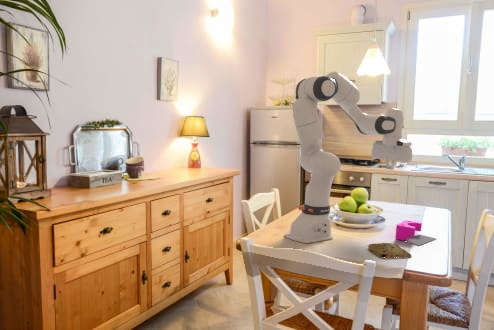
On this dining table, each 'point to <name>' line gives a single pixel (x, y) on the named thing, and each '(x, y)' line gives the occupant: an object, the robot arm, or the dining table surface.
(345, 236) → the dining table surface
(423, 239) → the mat
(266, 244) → the dining table surface
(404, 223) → the toy block
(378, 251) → the pastry
